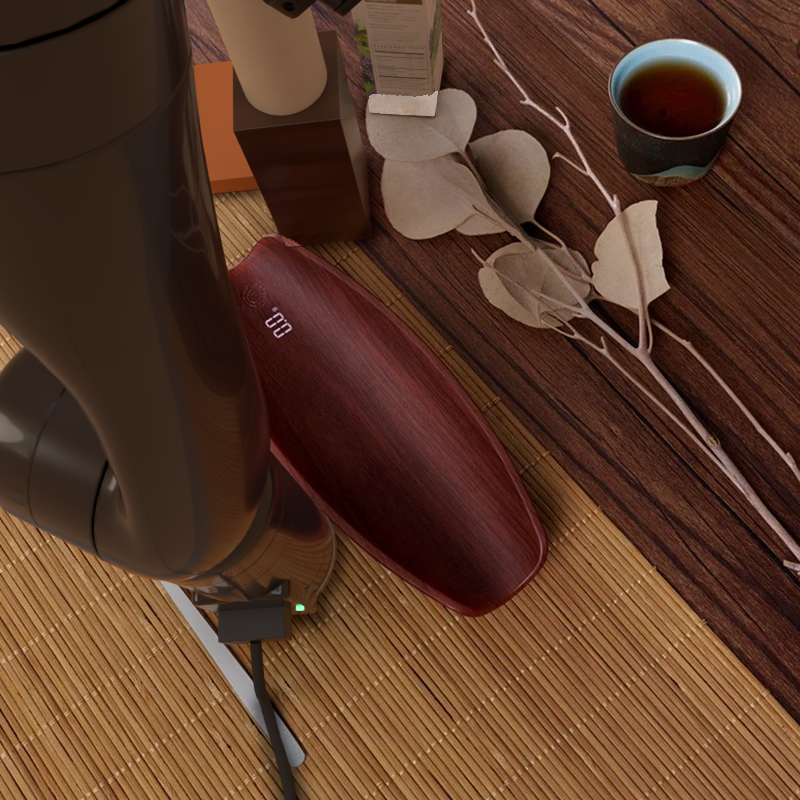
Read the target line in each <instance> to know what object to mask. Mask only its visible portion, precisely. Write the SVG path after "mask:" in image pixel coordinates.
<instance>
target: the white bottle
mask: <svg viewBox="0 0 800 800" xmlns="http://www.w3.org/2000/svg"><path fill="white" fill-rule="evenodd" d="M206 2H207V5H208V8H209V10H210V12H211V14H212V17H213V20H214V22H215V25H216V27H217V29H218V32H219V34H220V37H221V40H222V42H223V44H224V47H225V49H226V52H227V54H228V57H229V59H230V61H231V62H232V64H233V66H234V69H235V71H236V74H237V76H238V79H239V81H240V84H241V86H242V89H243V91H244V93H245V96H246V98H247V99H248V101H249V102H250V103H251V104H252V105H253V106H254V107H255V108H256V109H258V110H260V111H262V112H264V113H267V114H270V115H278V116H283V115H291V114H295V113H298V112H300V111H303V110H304V109H306V108H308V107H309V106H311V105H312V104H313V103H314V102H315V101H316V100H317V99H318V98H319V97H320V95H321V94H322V92H323V90H324V88H325V85H326V81H327V69H326V65H325V61H324V58H323V54H322V50H321V46H320V42H319V39H318V35H317V32H318V31H317V27H316V24H315V21H314V20H315V19H314V16H313V12H312V8H311V6H310V7H309V8H308V9H307V10H305V11H304V12H303V13H302V14H301V15H300V16H299V17H297V18H294V19H291V18H290V17H287V16H285V15H284V14H282V13H281V12H279V11H277V10H276V9H274V8H273V7H271V6H269V5H268V4H266V3H265V2H264V1H263V0H206Z"/></svg>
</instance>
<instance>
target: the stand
mask: <svg viewBox="0 0 800 800" xmlns="http://www.w3.org/2000/svg"><path fill="white" fill-rule="evenodd" d="M194 72H195V82H196V91H197V100H198V109H199V118H200V126H201V134H202V140H203V145H204V151H205V157H206V162H207V168H208V173H209V179H210V184H211V189H212V194H213V195H215V194H224V193H233V192H243V191H250V190H251V191H252V190H260V189H259V187H258V185H257V183H256V181H255V178H254V176H253V174H252V172H251V169H250V167H249V165H248V163H247V161H246V158H245V156H244V154H243V152H242V150H241V147H240V145H239V143H238V141H237V139H236V136H235V134H234V132H233V64H232V62H231V60H226V61H217V62H209V63H201V64H194Z"/></svg>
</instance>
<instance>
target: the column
mask: <svg viewBox="0 0 800 800" xmlns="http://www.w3.org/2000/svg"><path fill="white" fill-rule="evenodd" d="M317 35H318V39H319V42H320V46H321V50H322V54H323V58H324V61H325V65H326V69H327V81H326V85H325V88H324V90H323V92H322V94H321V95H320V97H319V98H318V99H317V100H316V101H315V102H314V103H313V104H312V105H311V106H309V107H308V108H306V109H304V110H303V111H300V112H298V113H295V114H291V115H283V116H278V115H270V114H267V113H264V112H262V111H260V110H258V109H256V108H255V107H254V106H253V105H252V104H251V103H250V102H249V101H248V99H247V98H246V96H245V93H244V91H243V89H242V86H241V84H240V81H239V79H238V76H237V74H236V71H235V69H234V66H233V132H234V134H235V136H236V139H237V141H238V143H239V145H240V147H241V150H242V152H243V154H244V156H245V158H246V161H247V163H248V165H249V167H250V169H251V172H252V174H253V176H254V178H255V181H256V183H257V185H258V187H259V189H258V190H259V191H260V194H261V196H262V198H263V200H264V203H265V205H266V207H267V209H268V211H269V213H270V216H271V218H272V220H273V222H274V225H275V227H276V228H277V231H278V233H279V236H280V235H283V236H285V237H287V238H290V239H292V240H294V241H295V242H297V243H298V244H300V245H302V246H301V247H305V246H314V245H325V244H326V245H327V244H334V243H336V244H337V243H344V242H354V241H363V240H371V239H372V223H371V221H372V220H371V207H370V190H369V189H370V188H369V173H368V162H367V158H366V153H365V149H364V145H363V141H362V136H361V132H360V128H359V124H358V123H359V122H358V119H357V115H356V110H355V106H354V102H353V97H352V93H351V89H350V86H349V80H348V76H347V72H346V68H345V63H344V60H343V55H342V51H341V47H340V41H339V38H338V34H337V29H333V30H332V29H331V30H324V31H323V30H322V31H317Z"/></svg>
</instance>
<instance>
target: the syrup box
mask: <svg viewBox="0 0 800 800" xmlns="http://www.w3.org/2000/svg"><path fill="white" fill-rule="evenodd" d="M350 12H351V19H352V23H353V29H354V34H355V35H354V36H355V41H356V47H357V53H358V57H359V63H360V68H361V75H362V79H363V86H364V91H365V96H366V97H365V98H366V101H367V103H368V99H369V96H370V95H372V94H381V95H383V94H385V95H389V94H390V95H396V96H399V95H401V96H413V97H416V96H423V95H427V94H428V96H430V95H432V94H433V93H434V92H435V91H439V92H440V88H441V82H442V77H443V69H444V64H445V58H444V57H445V53H444V52H445V51H444V37H443V36H444V35H443V19H442V18H443V16H442V0H362V1H361V2H360V3H358V4H357V5H356V6H355V7H354V8H353V9H352V10H351V11H350Z"/></svg>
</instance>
